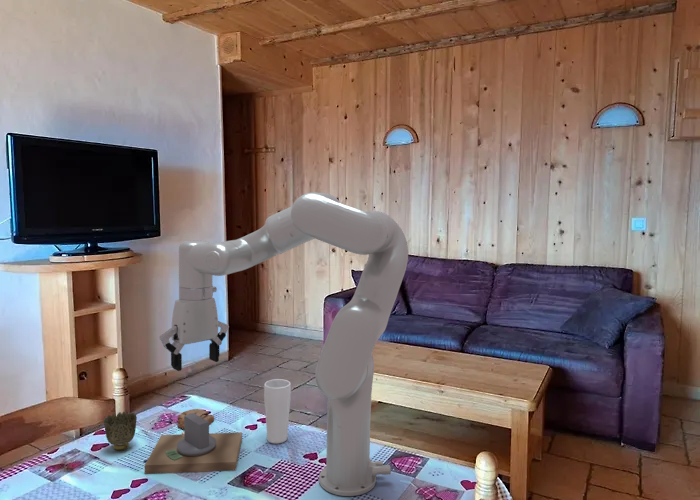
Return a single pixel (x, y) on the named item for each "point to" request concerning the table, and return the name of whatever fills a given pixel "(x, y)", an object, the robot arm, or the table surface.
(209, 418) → the cookie
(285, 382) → the drinking glass
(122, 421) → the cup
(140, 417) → the table surface
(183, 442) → the tuning knob
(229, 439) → the wooden board
